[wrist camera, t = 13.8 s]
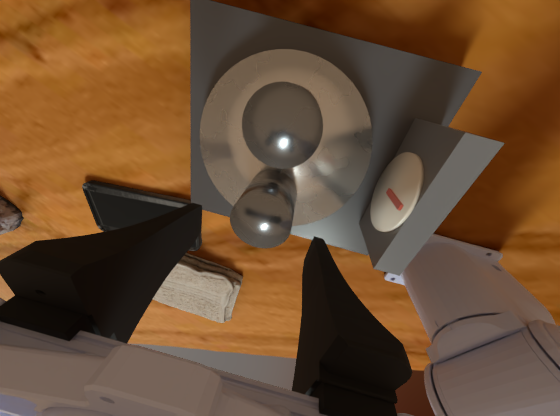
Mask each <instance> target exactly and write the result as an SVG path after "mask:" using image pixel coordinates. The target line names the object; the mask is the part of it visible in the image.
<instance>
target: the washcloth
mask: <svg viewBox="0 0 560 416" xmlns="http://www.w3.org/2000/svg"><path fill="white" fill-rule="evenodd" d="M242 278H243V276H241V275H239V274H238V273H236V272H234V271H233V270H231V269H230V268H226V267H224V266H222V265H220V264H217V263H214V262H211V261H208V260H205V259H202V258H199V257H196V256H193V255H190V254H188V253H186V254H185V255H184V256H183V257H182V259H181V260H180V261H179V262H178V264H177V265H176V266H175V267H174V268H173V270H172V271H171V272H170V273H169V275H168V276H167V278H166V279H165V281H164V282H163V284H162V285H161V287H160V288H159V290H158V291H157V293H156V294H155V296H154V298H153V299H154V300H156V301H159V302H160V303H163V304H166V305H168V306H172V307H175V308H178V309H180V310H185V311H186V312H190V313H194V314H195V315H199V316H202V317H205V318H207V319H210V320H214V321H216V322H219V323H224V322H225V321H229V320H230V319H231V318H232V315H231V314H232V310H233V307H234V304H235V301H236V298H237V295H238V292H239V289H240V287H241V283H242Z"/></svg>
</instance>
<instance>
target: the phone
mask: <svg viewBox="0 0 560 416" xmlns="http://www.w3.org/2000/svg"><path fill="white" fill-rule="evenodd" d="M82 188H83V191H84V194H85V196H86V199H87V201H88V204H89V206H90V209H91V211H92V214H93V217H94V219H95V222H96V224H97V226H98V227H99V228H100V229H101V230H102V231H104V232H106V231H110V230H115V229H120V228H124V227H127V226H131V225H135V224H138V223H141V222H144V221H147V220H150V219H153V218H155V217H158V216H161V215H163V214H166V213H168V212H171V211H173V210H176V209H178V208H181V207H183V206H185V205H188V204H191V200H187V199H182V198H177V197H172V196H167V195H162V194H157V193H153V192H148V191H143V190H138V189H133V188H128V187H123V186H118V185H114V184H109V183H104V182H99V181H94V180H91V181H89V182H86V183H84V184H83V186H82ZM201 245H202V238H201V232H200V234H199V236H198V237H197V239H196V241H195V242H194V244H193V245H192V246H191V248H190V249H189V250H190V251H197V250H198V249H199V248H200V246H201Z"/></svg>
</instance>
